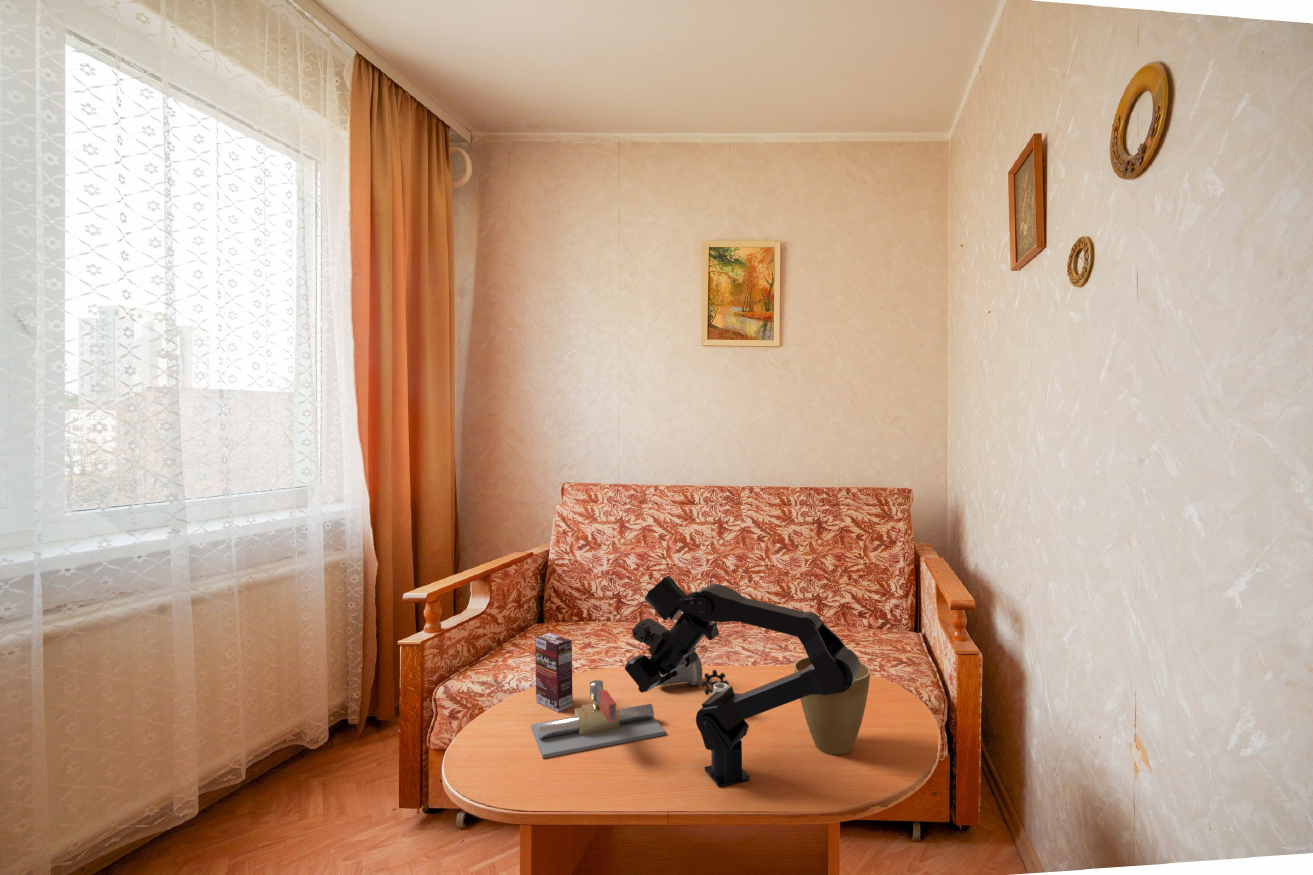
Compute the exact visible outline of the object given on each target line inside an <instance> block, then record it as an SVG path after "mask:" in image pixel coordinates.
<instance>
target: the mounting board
mask: <svg viewBox="0 0 1313 875" xmlns="http://www.w3.org/2000/svg"><path fill="white" fill-rule="evenodd" d="M640 705H641V704H640ZM640 705H639V704H638V706H640ZM635 706H636V705H634V706H632V707H635ZM629 707H630V706H629ZM629 707H627V708H629ZM621 709H623V708H621ZM571 717H572V716H571ZM571 717H569V718H571ZM566 718H567V717H565V718H563V719H566ZM560 719H561V718H560ZM560 719H558V720H560ZM554 720H555V719H554ZM554 720H552V721H554ZM548 721H549V720H548ZM548 721H547V720H546V722H548ZM538 723H539V722H537V723H531V724H530V725H531V726H530V727H531V728H530V729H531V731H532V733H533V735H534V739H535V742H536V744H537V747H538V750H539V753H540V755H541V758H542V759H547V758H552V757H558V756H563V755H568V754H573V753H579V752H582V751H589V750H593V749H601V748H605V747H609V746H615V745H620V744H625V743H629V742H630V743H631V742H635V741H641V740H646V739H651V738H655V737H660V736H666V730H665V729H664V728H663V727H662V725H661V724H660V723H659V722H658V721H657V719H655V716H654V717H653V718H651V719H646V720H640V721H635V722H629V723H624V724H619V728H617V729H613V730H609V731H603V732H598V733H592V734H584V735H579V734H578V732H575V733H569V734H564V735H558V736H553V737H547V738H542V739H539V736H538ZM540 723H542V721H541V722H540Z"/></svg>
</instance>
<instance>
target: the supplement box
mask: <svg viewBox="0 0 1313 875" xmlns="http://www.w3.org/2000/svg"><path fill="white" fill-rule="evenodd" d="M534 642H535V643H534V646H535V647H534V648H535V702H536V704H537V703H538V704H540V705H542V706H544V707H546V708H549V709H552V710H553V711H555V712H556V713H560V712H562V711H565V710H566V709H569V708H571V707H572V706H573V704H574V703H573V641H572V639H571V638H566V637H563V636H561V635H558V634H555V633H552V632H547V633H544V634H540V635H538V636H535V637H534Z"/></svg>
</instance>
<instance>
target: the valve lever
mask: <svg viewBox="0 0 1313 875" xmlns="http://www.w3.org/2000/svg"><path fill="white" fill-rule="evenodd" d="M589 698H590V699H592V700H593V699H596V700H597V702H598V703H599V708H600V710H601V711H602V713H603V714H604V716H605V717H606V719H607V720H608V722H610V721H616V706H617V702H616V701H615V700H614V699H613V697H612V696H611V694H610V693H609V691H608V690H607V689H604V681H603V680H599V679H596V680H592V681H590V682H589Z"/></svg>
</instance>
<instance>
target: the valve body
mask: <svg viewBox="0 0 1313 875" xmlns="http://www.w3.org/2000/svg"><path fill="white" fill-rule="evenodd" d="M634 706H635V707H633V706H629V708H628V707H624V708H623V709H622V708H618V706H617V705H616V721H610V722H608V720H607V719H606V717H605V716H604V714H603V713H602V711H601V710H600V708H599V703H598V702H597V700H596V699H592V703H588V704H581V707H577V708H574V716H571V718H570V717H565V718H566V719H564V718H560V720H559V719H554V721H553V720H548V722H547V721H543V722H542V721H541V722H542V723H541V722H537V723H538V736H539V739H542V738H547V737H553V736H558V735H564V734H569V733H575V732H578V734H579V735H584V734H592V733H598V732H603V731H609V730H613V729H617V728H619V724H624V723H629V722H635V721H640V720H646V719H651V718H653V717H654V718H655V712H654V705H653V704H652V703H648V704H640V706H639V705H634Z"/></svg>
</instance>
